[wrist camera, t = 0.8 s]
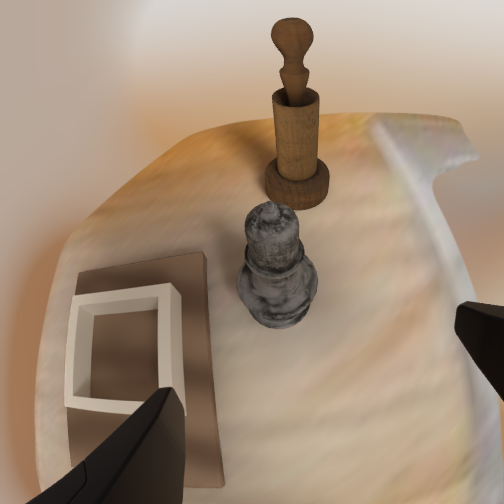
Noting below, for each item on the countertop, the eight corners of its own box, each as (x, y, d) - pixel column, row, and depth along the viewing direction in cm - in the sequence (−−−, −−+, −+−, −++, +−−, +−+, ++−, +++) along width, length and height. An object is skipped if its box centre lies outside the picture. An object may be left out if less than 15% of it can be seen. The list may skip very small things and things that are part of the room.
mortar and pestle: (282, 219, 28) (266, 32, 13) (257, 178, 31) (231, 19, 16) (339, 198, 28) (357, 25, 13) (309, 161, 32) (307, 10, 17)
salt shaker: (313, 333, 22) (335, 256, 11) (239, 330, 23) (197, 253, 12) (314, 268, 25) (326, 161, 14) (247, 266, 26) (219, 162, 15)
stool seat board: (225, 484, 16) (213, 497, 13) (79, 465, 16) (53, 467, 13) (206, 258, 26) (194, 235, 23) (84, 277, 27) (65, 260, 24)
